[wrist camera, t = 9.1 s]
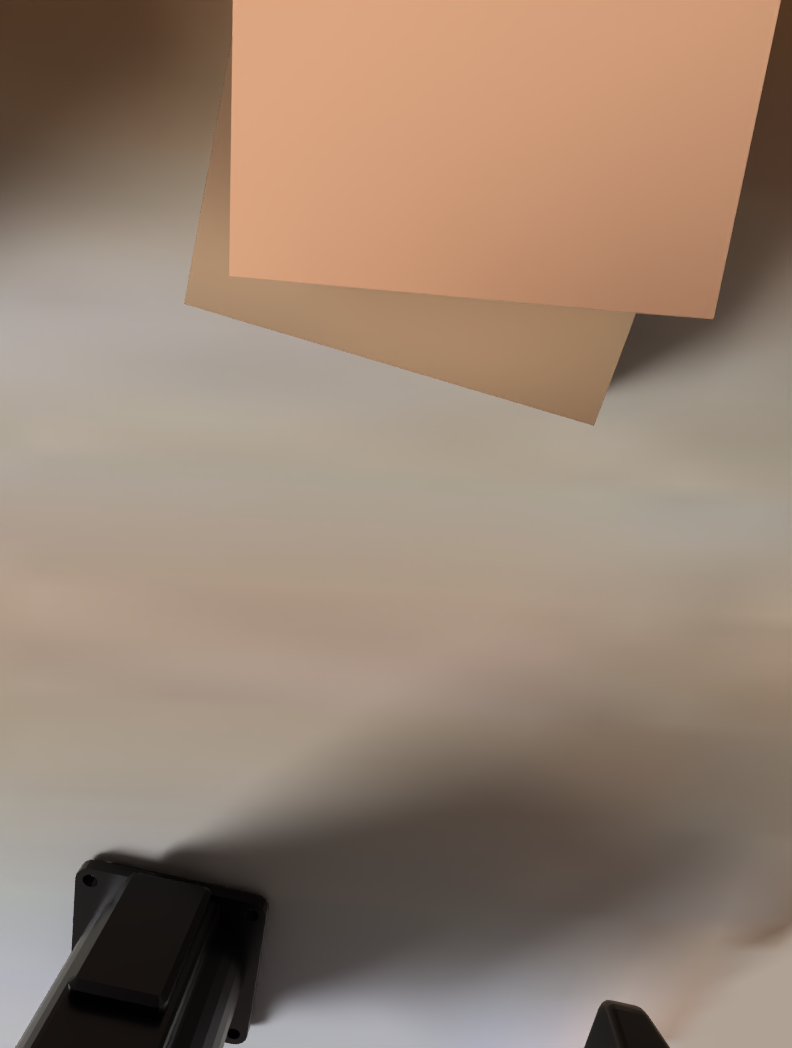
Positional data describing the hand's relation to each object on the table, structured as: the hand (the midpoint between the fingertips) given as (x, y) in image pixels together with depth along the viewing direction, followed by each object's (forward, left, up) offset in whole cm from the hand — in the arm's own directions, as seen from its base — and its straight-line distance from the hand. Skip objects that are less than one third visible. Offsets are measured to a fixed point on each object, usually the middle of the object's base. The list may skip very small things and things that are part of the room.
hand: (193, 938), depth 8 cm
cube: (+10, -1, -9) cm, 14 cm away
